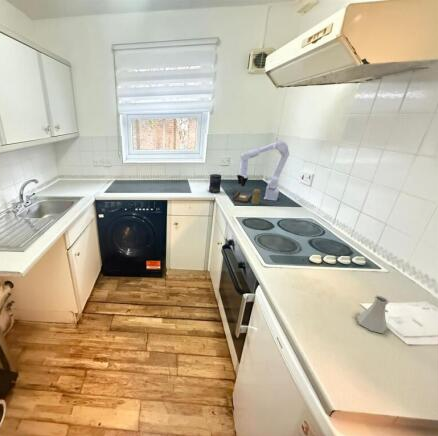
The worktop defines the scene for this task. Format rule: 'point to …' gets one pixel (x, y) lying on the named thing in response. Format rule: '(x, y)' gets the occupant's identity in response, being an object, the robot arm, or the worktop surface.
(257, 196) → the olive door knob
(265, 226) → the worktop surface
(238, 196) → the shelf
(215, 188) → the storage jar
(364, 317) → the flask
